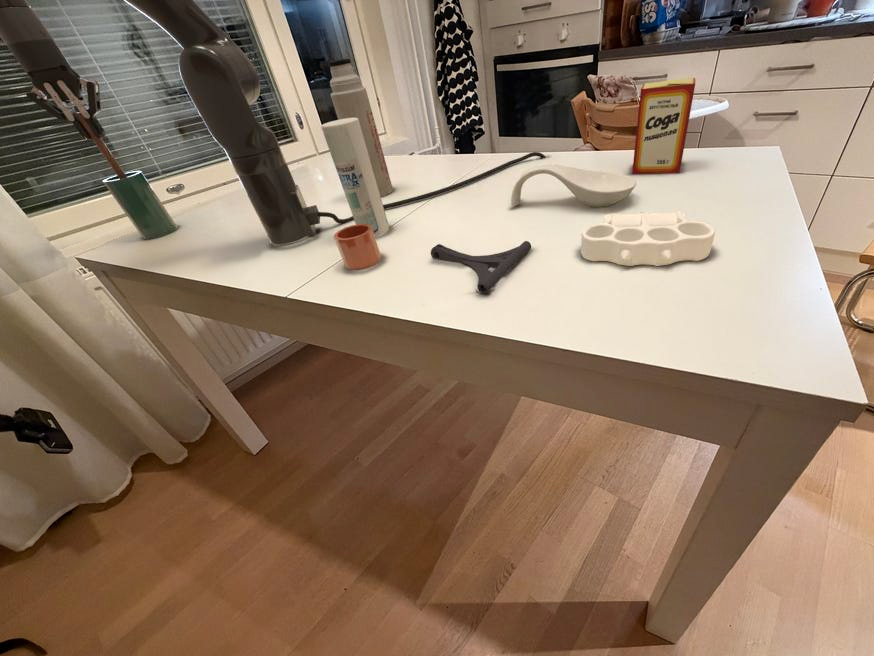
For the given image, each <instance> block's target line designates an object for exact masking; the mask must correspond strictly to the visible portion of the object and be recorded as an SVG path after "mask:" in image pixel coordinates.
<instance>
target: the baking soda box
mask: <svg viewBox="0 0 874 656" xmlns="http://www.w3.org/2000/svg"><path fill="white" fill-rule="evenodd" d="M695 87H696V77H691V78H689V77H688V78H678V79H668V80H665V81H654V82H645V83H643V84H642V86H641V88H640V94H639V103H638V112H637V113H638V114H637V122H636V123H637V124H636V131H635V140H634V141H635V142H634V150H633V161H632V170H631V175H645V174H646V175H647V174H649V175H651V174H680V172H681V168H682V162H683V156H684V152H685V151H684V150H685V145H686V138H687V133H688V128H689V122H690V116H691V112H692V105H693V99H694V94H695V89H696V88H695Z"/></svg>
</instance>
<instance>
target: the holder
mask: <svg viewBox="0 0 874 656" xmlns="http://www.w3.org/2000/svg"><path fill="white" fill-rule="evenodd" d="M333 238H334V241H335V244H336V246H337V249H338V252H339V255H340V256H341V260H342V261H343V265H344V267H345V268H346V269H348V270H352V271H358V270H364V269H365V270H366V269H368V268H371V267H373V266H375V265H377V264H378V263H379V262H380V261H381V260H382V254H381V250H380V247H379V244H378V242H377V238H376V236H375V235H374V232H373V229H372V226H371V225H368V224H351V225H349V226H346V227H345V226H344V227H343V228H340V229H339V230H337V231H336V232H335V233H334V234H333Z"/></svg>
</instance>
